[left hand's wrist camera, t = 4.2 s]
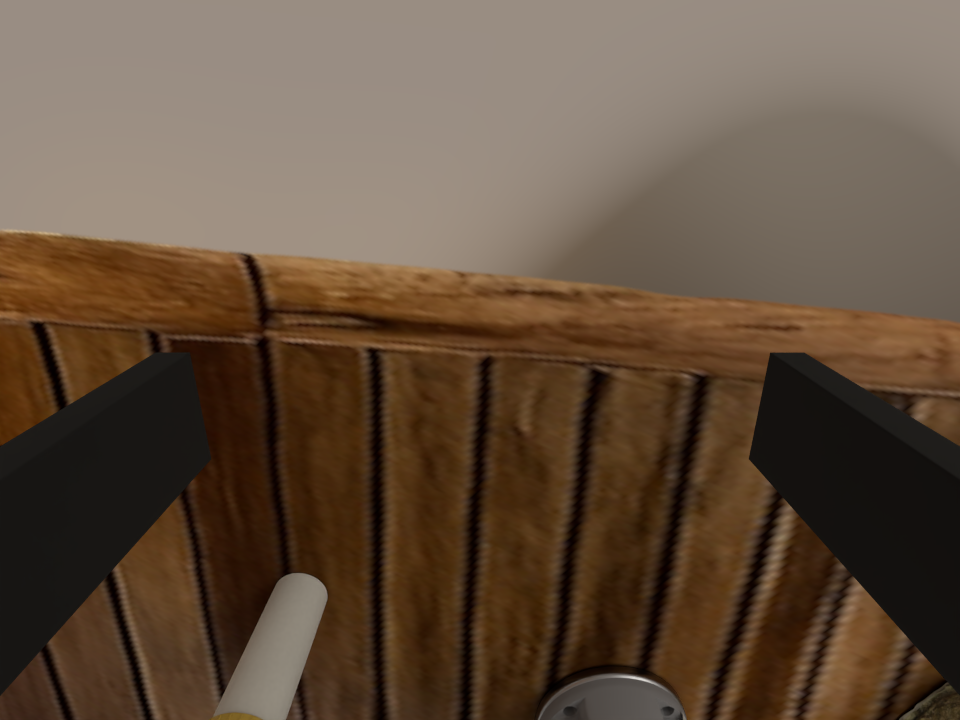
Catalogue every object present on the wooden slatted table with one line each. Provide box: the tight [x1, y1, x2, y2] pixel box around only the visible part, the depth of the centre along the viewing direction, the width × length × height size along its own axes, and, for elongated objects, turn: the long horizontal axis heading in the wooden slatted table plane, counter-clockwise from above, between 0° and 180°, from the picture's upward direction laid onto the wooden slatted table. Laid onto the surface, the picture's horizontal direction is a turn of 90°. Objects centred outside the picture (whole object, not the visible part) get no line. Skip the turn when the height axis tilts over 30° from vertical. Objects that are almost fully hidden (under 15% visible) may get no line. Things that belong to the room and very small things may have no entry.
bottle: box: [213, 573, 328, 720], centre depth 43 cm, size 5×5×15 cm
